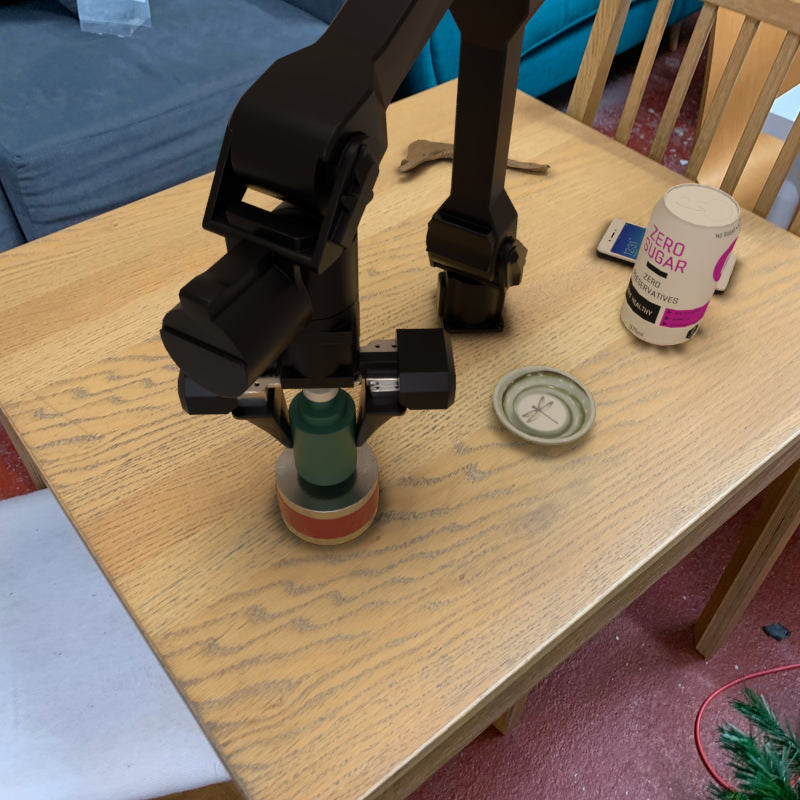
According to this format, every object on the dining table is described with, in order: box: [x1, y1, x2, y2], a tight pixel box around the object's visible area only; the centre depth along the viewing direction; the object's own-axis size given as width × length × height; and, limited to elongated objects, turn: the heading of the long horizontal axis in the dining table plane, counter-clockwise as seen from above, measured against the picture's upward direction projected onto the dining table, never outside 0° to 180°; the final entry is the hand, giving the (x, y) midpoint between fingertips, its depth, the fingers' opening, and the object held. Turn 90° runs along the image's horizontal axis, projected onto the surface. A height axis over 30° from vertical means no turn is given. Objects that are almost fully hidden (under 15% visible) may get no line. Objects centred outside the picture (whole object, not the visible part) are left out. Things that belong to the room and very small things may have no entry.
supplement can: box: [619, 182, 742, 346], centre depth 77 cm, size 8×8×15 cm
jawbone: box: [396, 139, 551, 173], centre depth 102 cm, size 9×20×2 cm, turn 98°
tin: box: [274, 441, 380, 546], centre depth 64 cm, size 8×8×5 cm
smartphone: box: [595, 218, 737, 295], centre depth 89 cm, size 8×1×15 cm
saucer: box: [491, 365, 597, 446], centre depth 72 cm, size 10×10×2 cm
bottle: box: [288, 388, 357, 486], centre depth 58 cm, size 5×5×10 cm
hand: (325, 443), depth 60 cm, fingers closed on bottle, 5 cm apart
